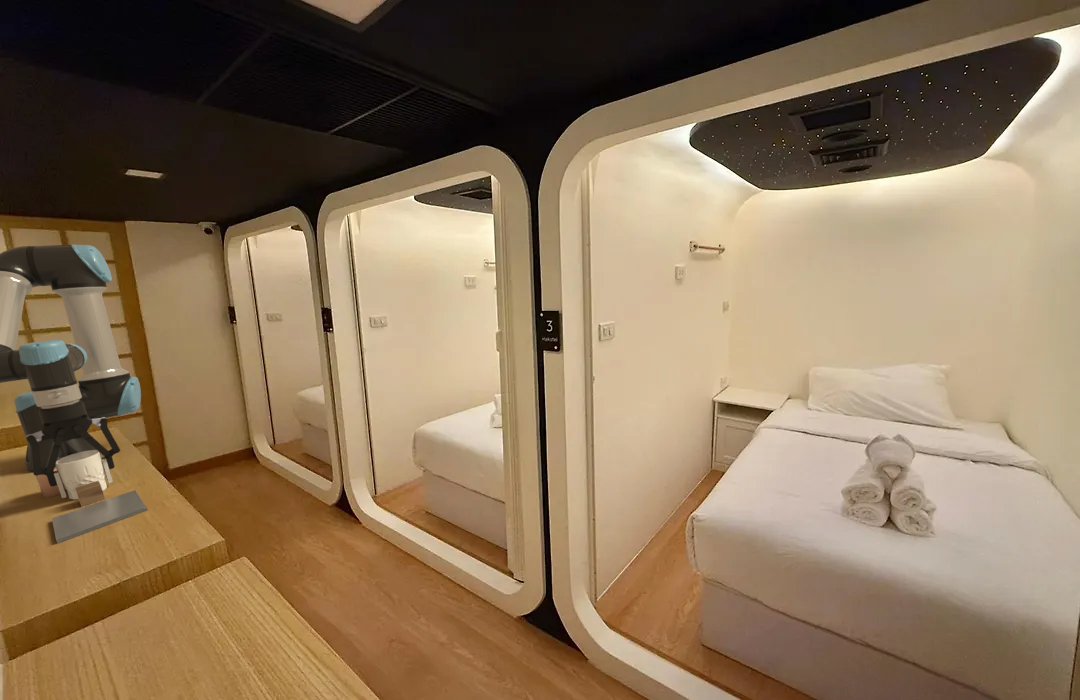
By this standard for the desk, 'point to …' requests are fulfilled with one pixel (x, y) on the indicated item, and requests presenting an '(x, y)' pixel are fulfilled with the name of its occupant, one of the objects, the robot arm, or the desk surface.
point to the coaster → (97, 515)
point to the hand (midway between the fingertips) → (87, 488)
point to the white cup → (81, 471)
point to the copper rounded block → (48, 486)
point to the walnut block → (90, 493)
